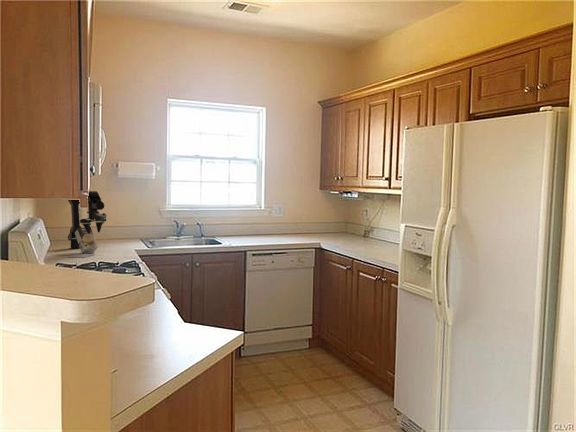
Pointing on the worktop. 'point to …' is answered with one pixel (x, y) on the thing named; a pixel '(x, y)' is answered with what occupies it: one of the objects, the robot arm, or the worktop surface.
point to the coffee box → (86, 240)
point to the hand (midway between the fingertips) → (94, 233)
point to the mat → (81, 255)
